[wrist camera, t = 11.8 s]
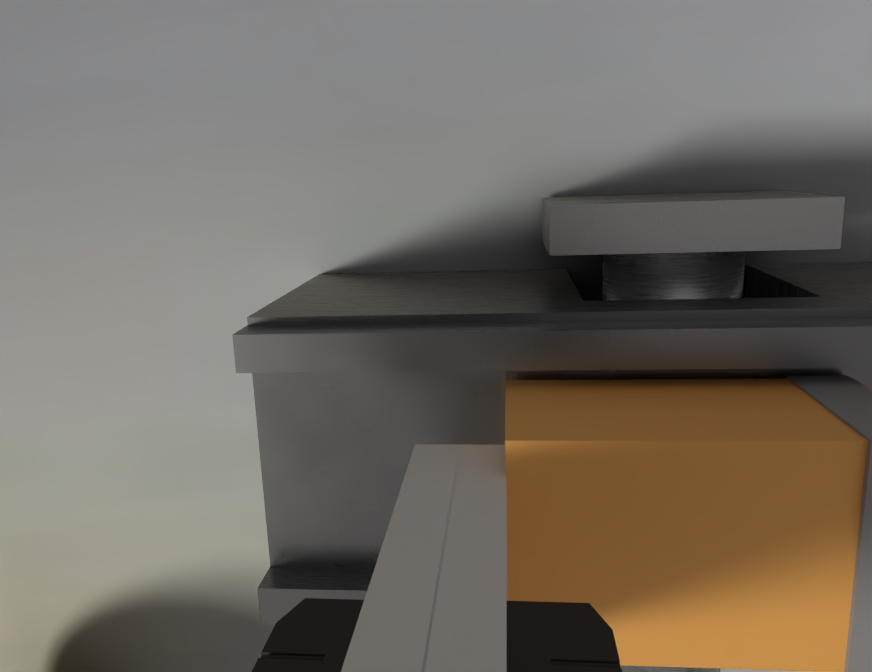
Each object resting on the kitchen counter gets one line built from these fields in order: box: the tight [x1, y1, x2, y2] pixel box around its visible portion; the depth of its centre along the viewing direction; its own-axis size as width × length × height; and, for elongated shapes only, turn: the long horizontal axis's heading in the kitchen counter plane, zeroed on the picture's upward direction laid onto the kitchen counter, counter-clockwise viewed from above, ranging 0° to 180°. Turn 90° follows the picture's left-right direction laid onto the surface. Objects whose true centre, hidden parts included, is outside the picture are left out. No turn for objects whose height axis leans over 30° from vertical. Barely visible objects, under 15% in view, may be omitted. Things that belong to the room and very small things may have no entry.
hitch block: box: [233, 263, 872, 621], centre depth 16 cm, size 6×14×6 cm, turn 92°
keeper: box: [505, 375, 872, 672], centre depth 12 cm, size 4×6×3 cm, turn 92°
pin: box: [542, 190, 845, 672], centre depth 18 cm, size 13×6×3 cm, turn 2°
